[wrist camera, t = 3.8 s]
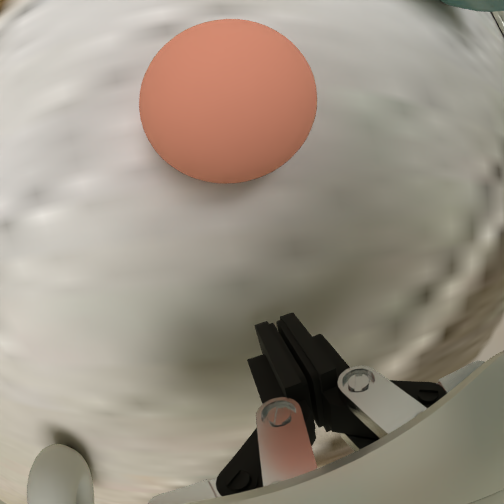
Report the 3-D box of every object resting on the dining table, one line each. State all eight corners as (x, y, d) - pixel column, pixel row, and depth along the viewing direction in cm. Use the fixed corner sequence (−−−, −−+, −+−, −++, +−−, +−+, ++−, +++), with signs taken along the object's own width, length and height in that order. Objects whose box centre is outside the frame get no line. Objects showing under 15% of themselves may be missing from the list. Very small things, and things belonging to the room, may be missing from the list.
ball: (267, 54, 10) (315, -14, 4) (297, 166, 11) (373, 160, 6) (142, 79, 9) (109, 11, 4) (170, 199, 11) (147, 215, 5)
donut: (102, 483, 15) (96, 565, 5) (69, 472, 14) (56, 551, 4) (84, 428, 13) (61, 547, 3) (42, 412, 12) (6, 520, 2)
